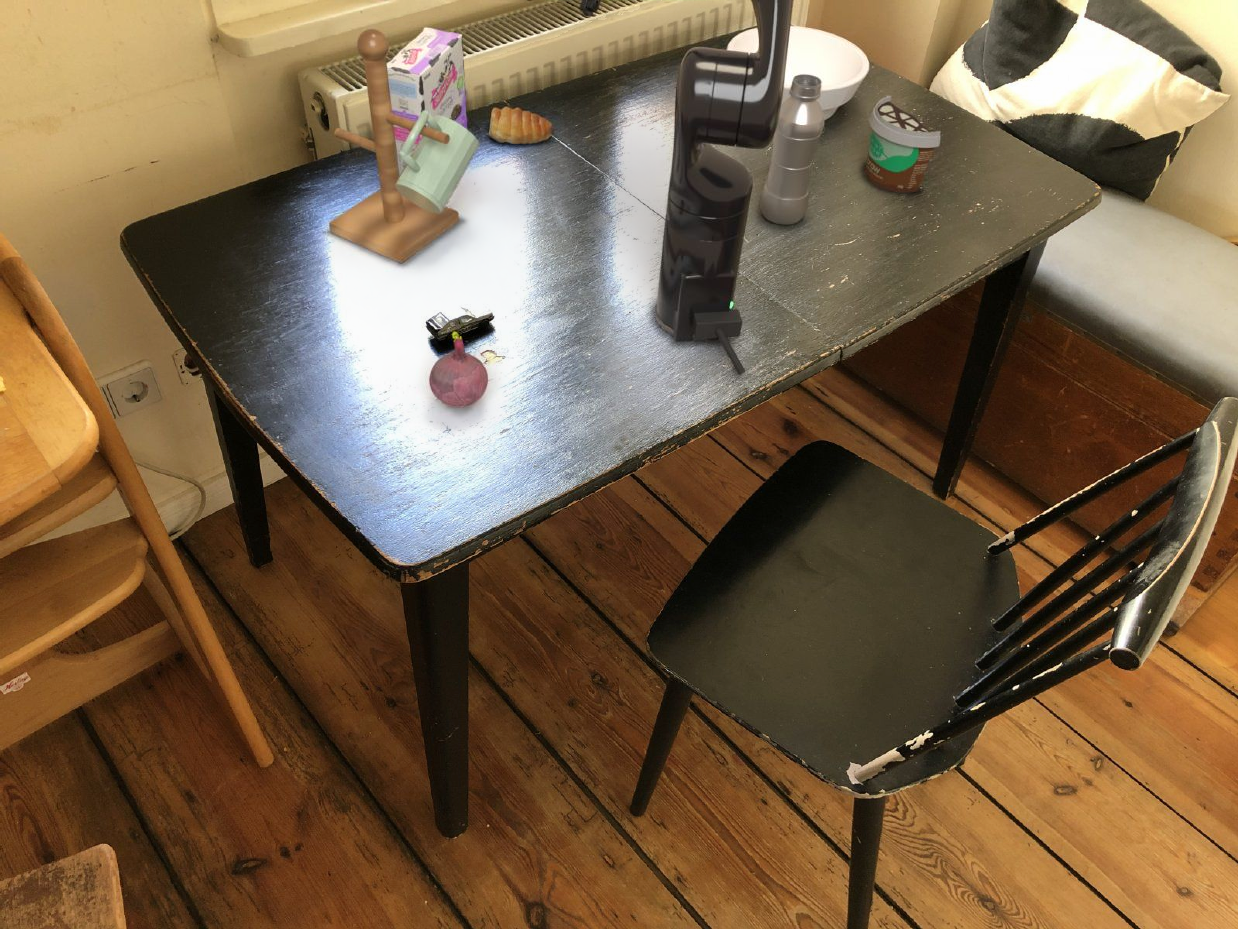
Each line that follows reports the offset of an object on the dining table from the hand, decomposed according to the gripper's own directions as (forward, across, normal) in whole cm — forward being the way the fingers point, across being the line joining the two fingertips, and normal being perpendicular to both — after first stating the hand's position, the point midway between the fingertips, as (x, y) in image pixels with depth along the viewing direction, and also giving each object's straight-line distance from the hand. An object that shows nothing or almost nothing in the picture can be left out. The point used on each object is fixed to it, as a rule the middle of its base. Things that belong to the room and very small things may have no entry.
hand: (554, 5), depth 119 cm
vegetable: (+47, +12, -10) cm, 49 cm away
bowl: (-10, +14, +55) cm, 57 cm away
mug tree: (+31, -16, +6) cm, 35 cm away
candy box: (+20, -22, +19) cm, 35 cm away
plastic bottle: (+11, +26, +32) cm, 42 cm away
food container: (-1, +34, +46) cm, 57 cm away
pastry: (+11, -17, +29) cm, 35 cm away
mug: (+26, -9, -2) cm, 28 cm away
